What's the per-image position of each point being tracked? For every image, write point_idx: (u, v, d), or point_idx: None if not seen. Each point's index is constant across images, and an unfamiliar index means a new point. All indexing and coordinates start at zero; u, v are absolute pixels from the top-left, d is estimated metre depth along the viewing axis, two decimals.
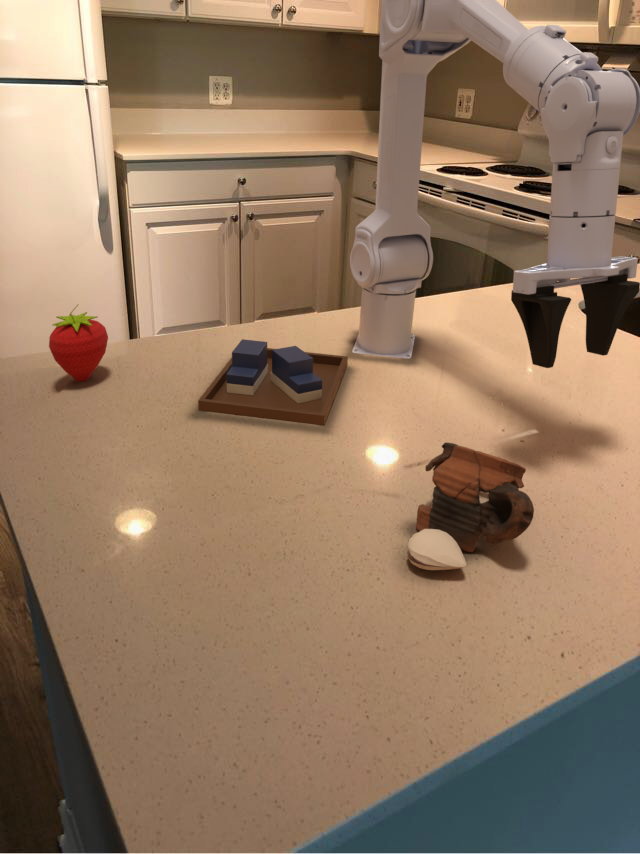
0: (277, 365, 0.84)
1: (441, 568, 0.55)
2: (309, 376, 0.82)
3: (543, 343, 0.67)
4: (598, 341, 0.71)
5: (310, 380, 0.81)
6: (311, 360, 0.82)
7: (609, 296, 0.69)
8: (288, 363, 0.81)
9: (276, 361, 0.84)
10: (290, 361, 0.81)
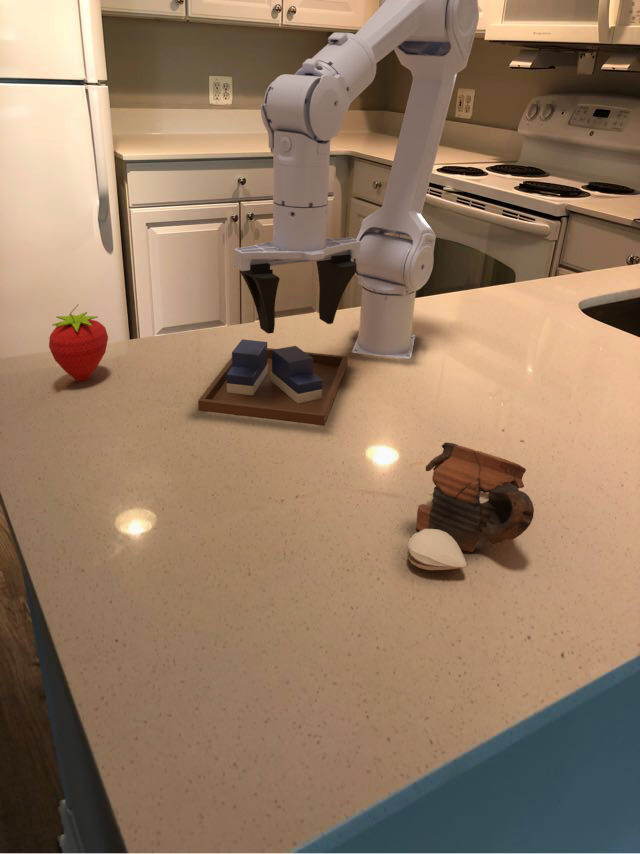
0: (277, 365, 0.84)
1: (441, 568, 0.55)
2: (309, 376, 0.82)
3: (264, 312, 0.77)
4: (325, 311, 0.81)
5: (310, 380, 0.81)
6: (311, 360, 0.82)
7: (331, 273, 0.79)
8: (288, 363, 0.81)
9: (276, 361, 0.84)
10: (290, 361, 0.81)
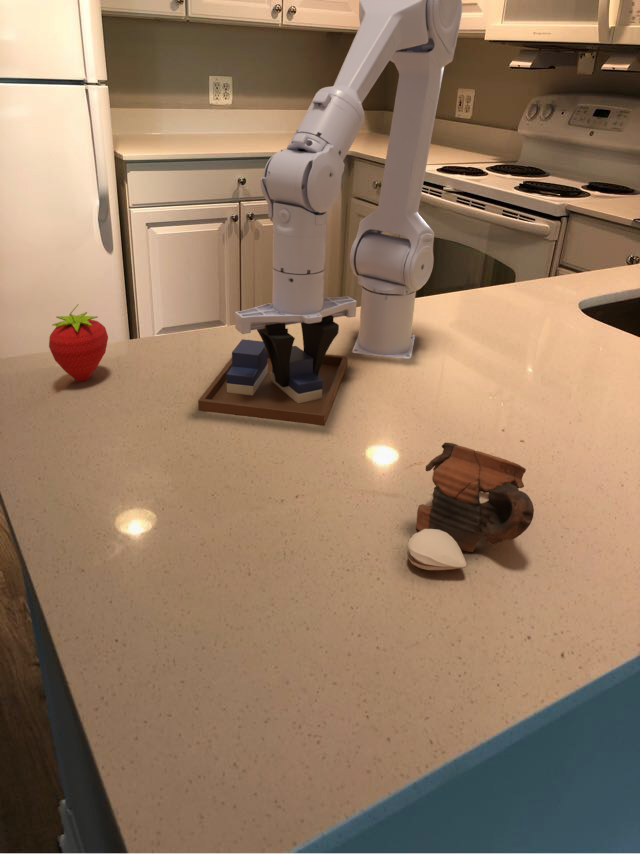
0: None
1: (441, 568, 0.55)
2: (310, 376, 0.82)
3: (279, 367, 0.81)
4: None
5: (311, 380, 0.81)
6: (311, 360, 0.82)
7: (314, 334, 0.81)
8: None
9: None
10: (290, 361, 0.81)
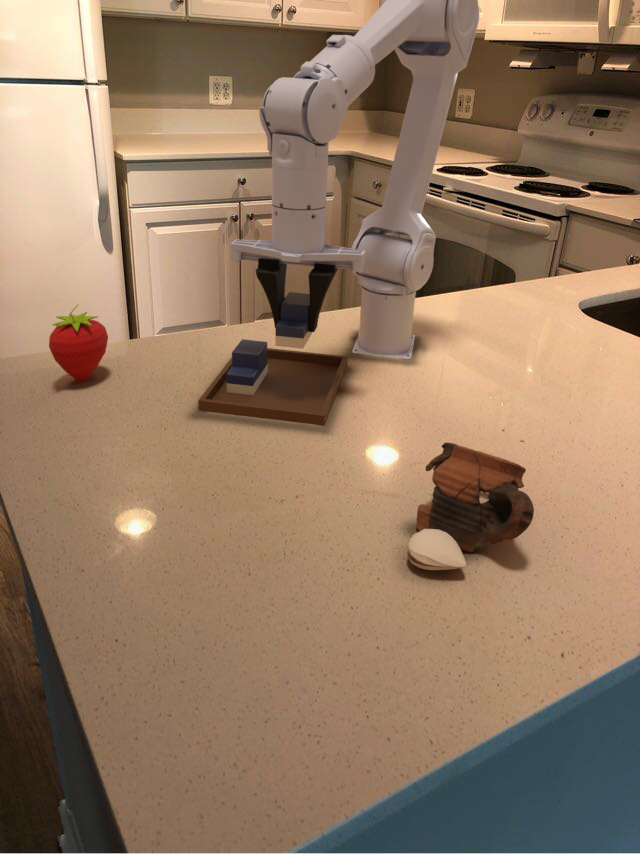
0: None
1: (441, 568, 0.55)
2: (299, 323, 0.78)
3: None
4: None
5: (292, 326, 0.77)
6: (306, 307, 0.78)
7: None
8: None
9: None
10: (283, 302, 0.79)
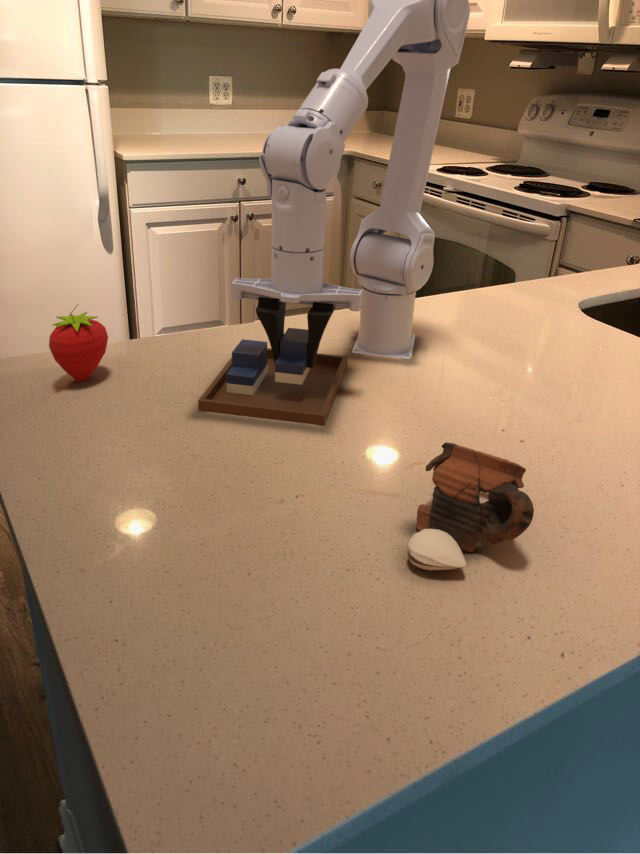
0: None
1: (441, 568, 0.55)
2: (298, 359, 0.80)
3: None
4: None
5: (291, 363, 0.80)
6: (305, 344, 0.80)
7: None
8: (280, 341, 0.81)
9: None
10: (282, 339, 0.81)
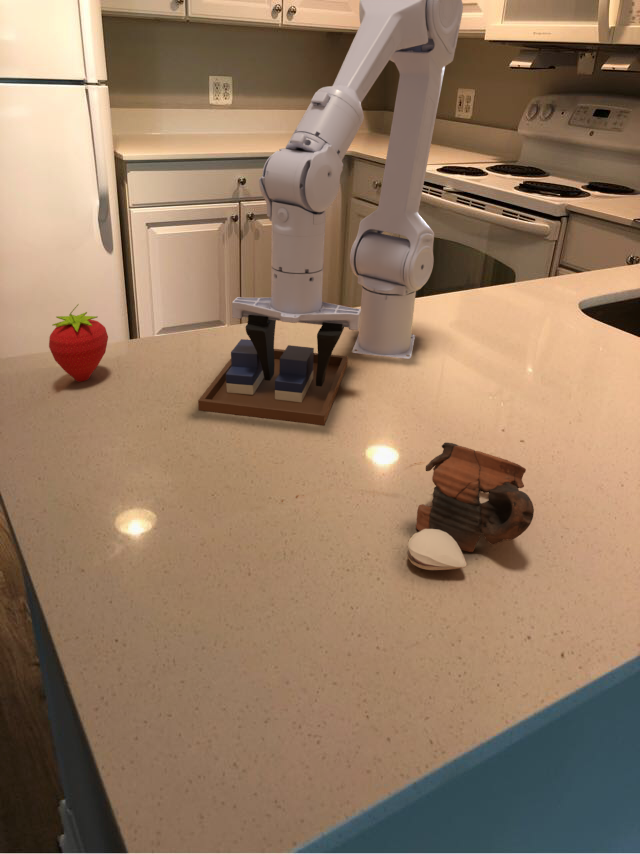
0: None
1: (441, 568, 0.55)
2: (297, 377, 0.82)
3: None
4: None
5: (291, 381, 0.81)
6: (304, 363, 0.81)
7: None
8: None
9: None
10: (282, 358, 0.82)
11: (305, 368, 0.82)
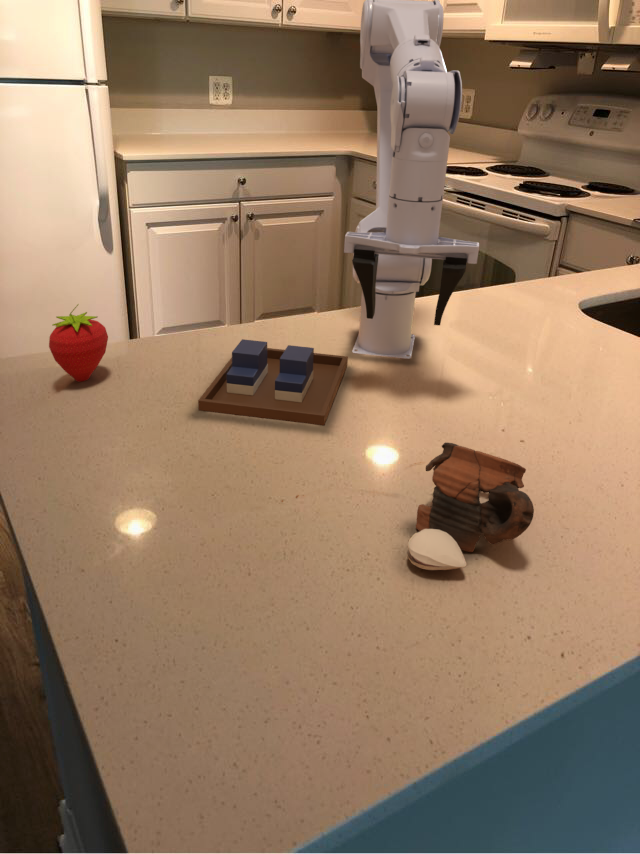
0: None
1: (441, 568, 0.55)
2: (297, 377, 0.82)
3: None
4: None
5: (291, 381, 0.81)
6: (304, 363, 0.81)
7: None
8: None
9: None
10: (282, 358, 0.82)
11: (305, 368, 0.82)
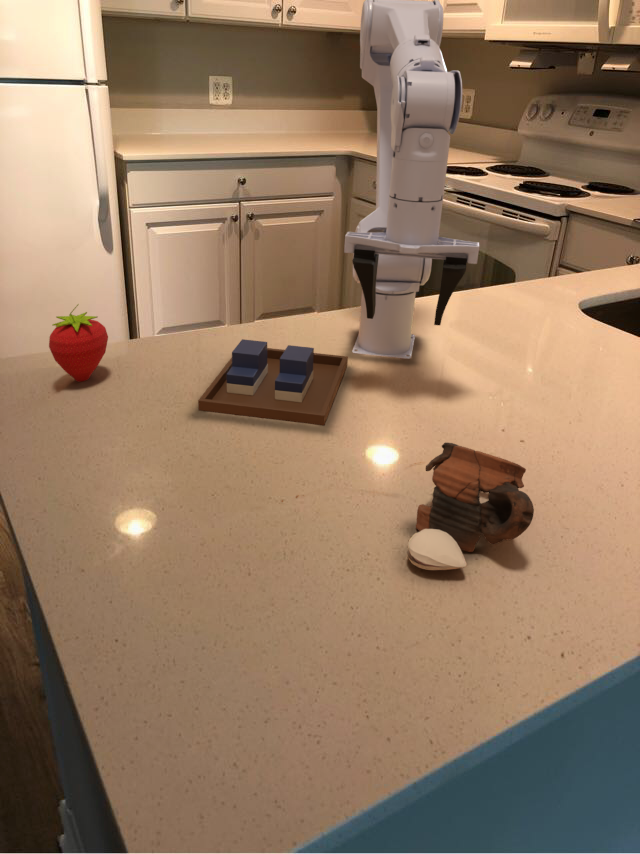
0: None
1: (441, 568, 0.55)
2: (297, 377, 0.82)
3: None
4: None
5: (291, 381, 0.81)
6: (304, 363, 0.81)
7: None
8: None
9: None
10: (282, 358, 0.82)
11: (305, 368, 0.82)
